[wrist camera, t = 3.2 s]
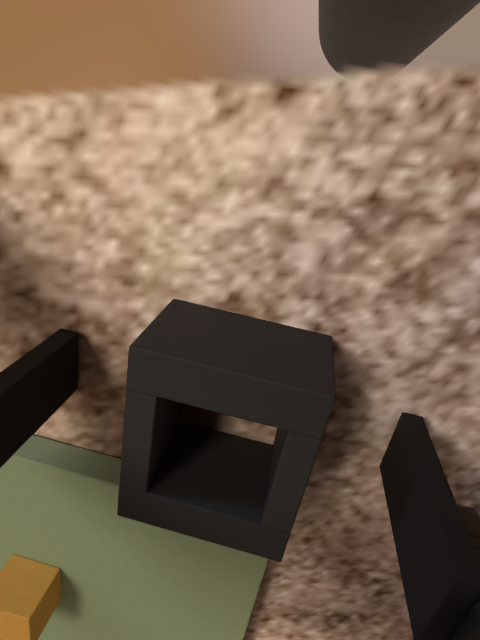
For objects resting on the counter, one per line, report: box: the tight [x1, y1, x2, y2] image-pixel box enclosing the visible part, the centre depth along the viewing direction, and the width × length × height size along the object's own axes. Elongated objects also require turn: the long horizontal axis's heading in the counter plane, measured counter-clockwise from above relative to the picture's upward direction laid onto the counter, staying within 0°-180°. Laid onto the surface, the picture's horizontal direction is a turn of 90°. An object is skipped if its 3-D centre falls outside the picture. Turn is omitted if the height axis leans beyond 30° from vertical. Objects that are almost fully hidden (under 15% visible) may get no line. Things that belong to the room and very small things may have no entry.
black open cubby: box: [117, 299, 336, 562], centre depth 15 cm, size 7×6×4 cm
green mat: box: [0, 435, 268, 640], centre depth 20 cm, size 14×16×4 cm
